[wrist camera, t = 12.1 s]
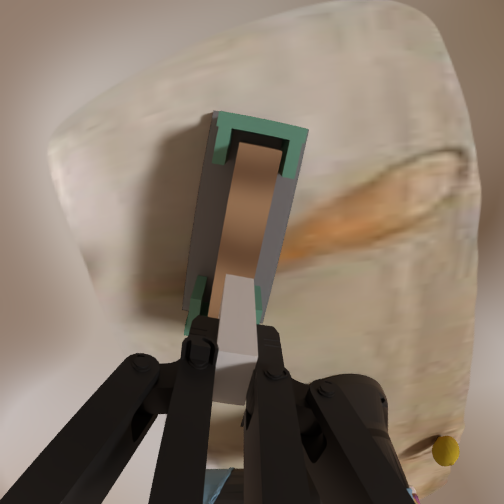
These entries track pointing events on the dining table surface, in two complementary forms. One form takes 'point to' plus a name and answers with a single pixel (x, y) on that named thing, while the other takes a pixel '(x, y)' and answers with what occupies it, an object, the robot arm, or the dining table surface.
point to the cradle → (216, 198)
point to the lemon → (445, 451)
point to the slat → (245, 216)
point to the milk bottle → (414, 495)
